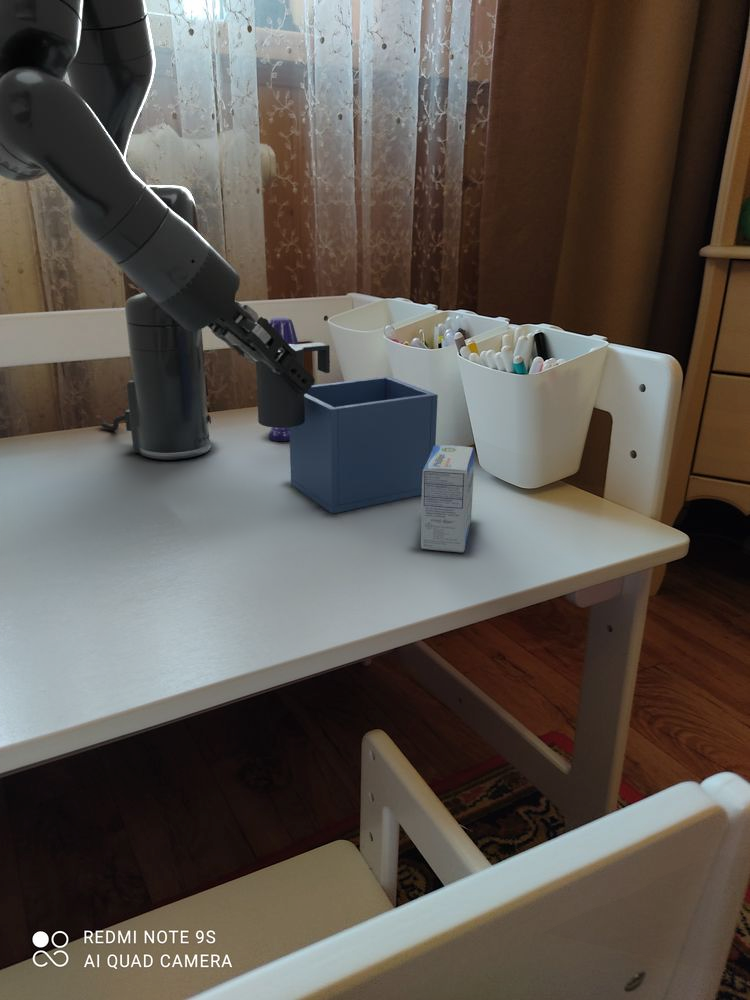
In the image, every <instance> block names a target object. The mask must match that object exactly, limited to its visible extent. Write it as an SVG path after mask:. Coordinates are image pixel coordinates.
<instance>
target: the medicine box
mask: <svg viewBox="0 0 750 1000" xmlns="http://www.w3.org/2000/svg"><path fill="white" fill-rule="evenodd" d="M475 451H476V450H475V448H474V447H472V446H464V445H453V444H452V445H450V444H448V445H447V444H441V445H440V444H439V445H438V444H437V445H436V444H435V446H434V448H433V450H432V453H431V455H430V457H429V459H428V461H427V464H426V466H425V468H424V469H423V475H422V495H421V509H420V510H421V513H420V515H421V516H420V548H421V549H423V550H427V551H428V550H430V551H439V552H449V553H451V552H452V553H460V554H463V553H464V552H465V549H466V545H467V541H468V536H469V533H470V532H469V531H470V528H471V522H472V511H473V491H474V490H473V489H474V474H475V473H474V472H475V457H476V456H475V453H476V452H475Z"/></svg>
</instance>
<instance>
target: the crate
mask: <svg viewBox="0 0 750 1000" xmlns="http://www.w3.org/2000/svg"><path fill="white" fill-rule="evenodd" d="M438 397H439V396H438V394H437V393H434V392H431V391H429V390H426V389H423V388H421V387H417V386H415V385H413V384H411V383H407V382H404V381H402V380H399V379H397V378H394V377H391V376H388V375H386V376H379V377H371V378H363V379H354V380H346V381H345V380H344V381H338V382H330V383H320V384H313V385H312V387H311V388H310V389H309V390H308V392H307V393H306V394H304V400H305V422H304V423H303V424H301V425H299V426H295V427H289V433H290V440H289V460H290V461H289V462H290V463H289V464H290V465H289V466H290V485H291V486H293V487H294V488H296V489H297V490H298V491H299V492H301V493H303V494H304V495H305V496H306V497H308V498H309V499H311V500H312V501H314V502H315V503H316V504H318V505H319V506H320V507H322V508H323V509H324V510H326V511H327V512H328V513H330V514H331V515H335V514H338V513H342V512H343V513H344V512H347V511H352V510H356V509H361V508H366V507H370V506H371V507H372V506H376V505H379V504H380V505H381V504H385V503H390V502H394V501H399V500H404V499H408V498H412V497H417V496H422V475H423V469H424V468H425V466H426V464H427V461H428V459H429V457H430V455H431V453H432V450H433V448H434V446H436V443H437V442H436V441H437V422H438V421H437V420H438V416H437V415H438V400H439V399H438Z"/></svg>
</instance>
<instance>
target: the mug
mask: <svg viewBox="0 0 750 1000" xmlns="http://www.w3.org/2000/svg"><path fill="white" fill-rule="evenodd" d="M289 345H290V347H291V348H292V349H294V350H295V351H296V353H297V354H298V356H297V357H296V358H295V360H296V361H297V362H298V363H299V364H300V365H301V366H302V367H303V368H304V369H305V354H304V353H310V352H317V353H316V354H317V355H316V357H317V371H320V372H322V373H325V374H330V373H331V362H330V361H331V360H330V359H331V357H330V355H331V353H330V351H331V350H330V347H331V345H330V344H326V343H324V342H320V341H318V342H308V343H307V342H306V343H298V344H289ZM256 351H257V350H256ZM280 354H281V352H280V351H279V350H278V352H277V353H276V354H275V356H274V358H275V359H277V358H278V357H279V355H280ZM255 369H256V370H255V372H256V394H257V395H256V397H257V399H256V400H257V418H258V420H257V421H258V423H259V425H261V426H263V427H267V428H272V427H273V428H288V427H295V426H299V425H301V424H303V423H304V422H305V400H304V395H302V394H300V393H298V392H297V391H296V390H294V389H293V388H292V387H291V386H290V385H289V384H288V383H287V382H286V381H285V380H284V379H283V378H282V377H281V376H280V375H278V374H277V373H274V372H273V371H272V369H271V368H270V367H269V366H267V365H266V364H265V363H264V362H263V361H255Z"/></svg>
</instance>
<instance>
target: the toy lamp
mask: <svg viewBox="0 0 750 1000" xmlns="http://www.w3.org/2000/svg"><path fill="white" fill-rule="evenodd" d="M269 324H270V325H271V326H272V327H273V328H274V329H275V330H276V331H277V332H278V333H279V334H280V336H281V337H282V338H283V339H284V340H285V341H286V342H287V343H288V344H299V341H298V337H297V334H296V330H295V325H294V323H293V320H292V319H291V318H287V317H275V318H274V317H273V318H271V319H270V320H269ZM268 439H270V440H271V441H276V442H288V441H289V442H290V433H289V427H288V428H273V427H270V430H269V432H268Z"/></svg>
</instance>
